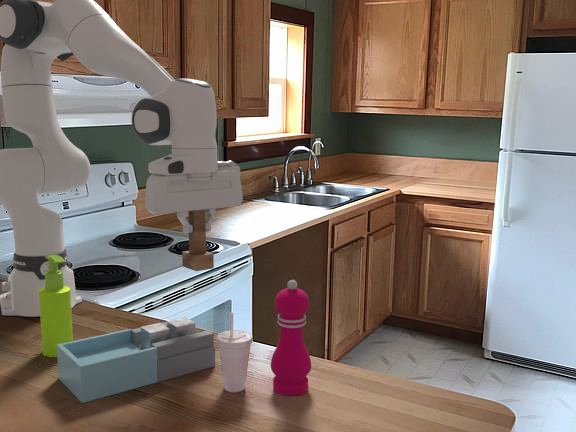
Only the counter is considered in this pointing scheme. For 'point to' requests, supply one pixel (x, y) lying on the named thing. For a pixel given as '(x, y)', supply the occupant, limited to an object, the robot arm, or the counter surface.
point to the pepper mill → (291, 342)
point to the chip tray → (105, 365)
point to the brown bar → (197, 244)
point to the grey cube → (181, 327)
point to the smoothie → (234, 357)
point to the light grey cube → (154, 334)
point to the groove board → (181, 353)
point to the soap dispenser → (55, 309)
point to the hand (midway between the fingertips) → (197, 232)
